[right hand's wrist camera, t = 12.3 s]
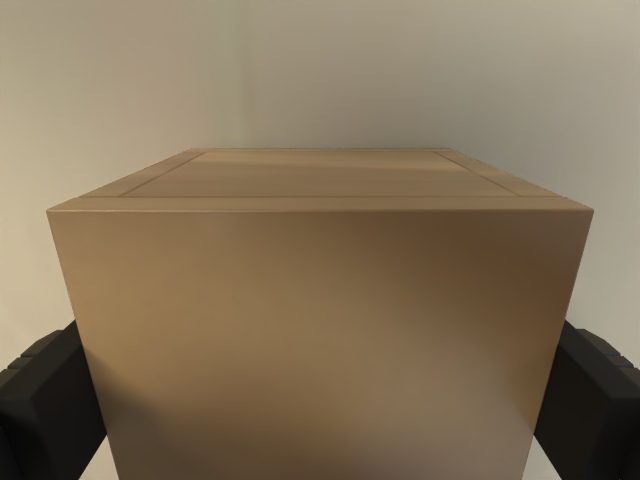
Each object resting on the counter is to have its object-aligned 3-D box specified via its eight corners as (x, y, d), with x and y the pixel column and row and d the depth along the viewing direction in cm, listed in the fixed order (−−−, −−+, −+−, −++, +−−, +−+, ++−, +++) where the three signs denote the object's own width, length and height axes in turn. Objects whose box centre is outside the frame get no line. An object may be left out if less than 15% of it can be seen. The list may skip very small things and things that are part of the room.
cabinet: (412, 458, 22) (468, 677, 14) (227, 458, 22) (172, 677, 14) (450, 148, 15) (596, 209, 7) (189, 148, 15) (44, 209, 7)
